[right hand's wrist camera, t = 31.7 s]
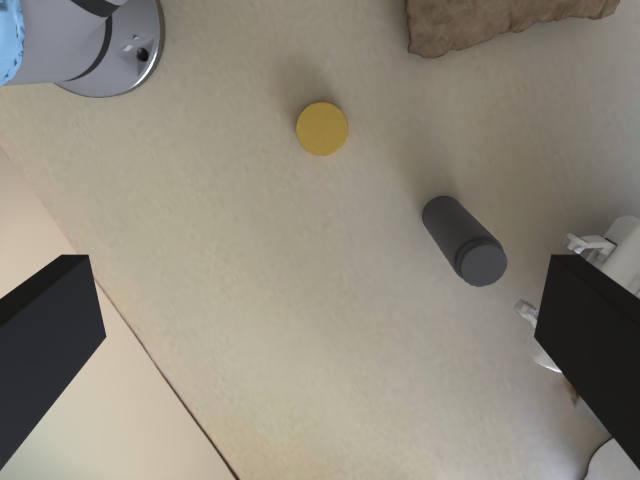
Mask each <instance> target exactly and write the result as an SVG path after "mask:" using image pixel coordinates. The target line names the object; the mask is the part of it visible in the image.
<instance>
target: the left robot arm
mask: <svg viewBox="0 0 640 480" xmlns="http://www.w3.org/2000/svg"><path fill="white" fill-rule="evenodd" d="M561 244H562V245H564V246H565V247H566V248H568V249H570V250H573V251H574V252H576V253H578V254H581V252H582V251H583V250H584V249H587V248H594V249H593V251H592V252H591V253H590V255H589V256H588V257H587V259H586V260H587V261H588V262H589V263H591V264H592V265H593V266H595V267H596V268H598V269H599V270H600V271H602V272H603V273H605V274H606V275H607V276H609V277H610V278H611V279H613V280H614V281H616V282H617V283H618V284H620V285H621V286H622V287H624V288H625V289H627V290H628V291H629V292H631V293H632V294H633V295H635V296H636V297H638V298H639V299H640V219H638V218H636V217H633V216H631V215H627V216H622V217H619V218H617V219H616V220H615V221H614V223H613V224H612V225H611V227H610V228H609V229H608V231H607V232H606V233H605V235H604V236H603V237H600V236H598V235H591V236H583V237H580V238H579V237H577V236H575V235H573V234H571V233H567V235H566V236H565V238H564V239H563V241H562V242H561ZM513 309H514V310H515V311H516V313H517V314H519V315H520V316H522V317H524V318H526V319H528V321H529V323H530V324H531V325H532V327H533V328H534V329H533V330H532V331H531V333H530V334H529V335H528V336H527V338H526V339H525V341H524V344H525V347H526V349H527V351H528V353H529V354H530V356H531V357H532V358H533V359H534V361H535V362H537V363H538V364H539V365H541V366H543V367H546V368H548V369H551V370H554V371H557V372H560V373H562V372H561V371H560V370H559V368H558V367H557V366H556V364H555V363H554V362H553V361H552V359H551V358H550V357H549V356H548V354H547V353H546V352H545V351H544V349H543V348H542V347H541V346H540V344H539V343H538V342H537V340H536V339H535V338H534V333H535V328H536V324H537V319H538V316H536V317H534V315H535V314H536V313H537V309H536V308H534V306H533V305H532V304H531V303H529V302H527V301H524V300H523V299H520V300H519V301H518V303H517V304H516V306H515V307H514V308H513ZM584 480H640V471H639V469H638V468H637V467H636V465H635V464H634V463H633V462H632V460H631V459H630V458H629V457H628V455H627V454H626V453H625V452H624V450H623V449H622V448H621V447H620V445H619V444H618V443H617V441H616V440H615V439H614V438H613V439H611V440H610V441H608V442H607V443H605V444H604V445H603V446H602V447H600V448H599V449H598V451H597V452H596V453H595V454H594V456H593V457H592V459H591V461H590V464H589V468H588V473H587V476H586V477H585V478H584Z"/></svg>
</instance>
